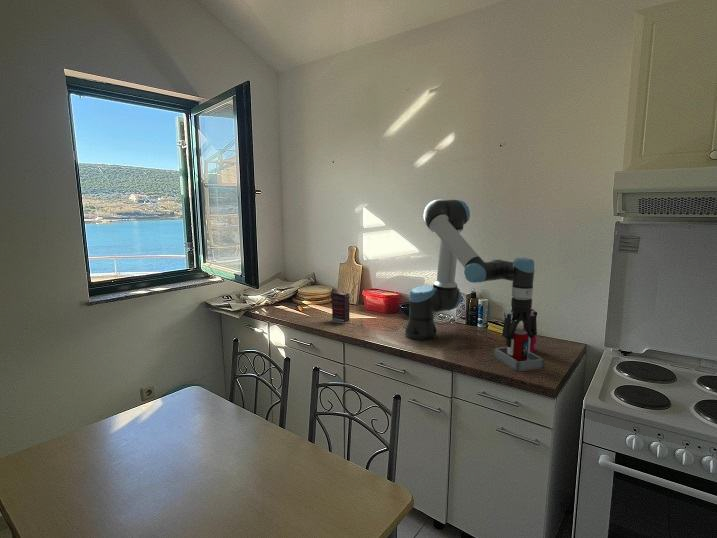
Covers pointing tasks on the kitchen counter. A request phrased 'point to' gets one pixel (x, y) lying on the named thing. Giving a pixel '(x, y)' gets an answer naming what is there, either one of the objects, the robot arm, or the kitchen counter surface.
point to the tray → (529, 364)
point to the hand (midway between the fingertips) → (518, 353)
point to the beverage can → (520, 345)
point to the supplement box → (340, 307)
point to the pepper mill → (532, 338)
